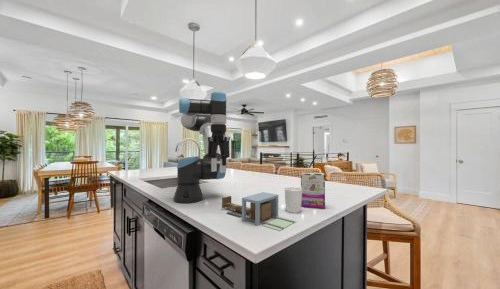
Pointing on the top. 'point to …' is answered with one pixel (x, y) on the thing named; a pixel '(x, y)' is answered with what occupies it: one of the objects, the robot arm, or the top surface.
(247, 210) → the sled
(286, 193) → the white cup
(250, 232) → the top surface
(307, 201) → the candy bar box
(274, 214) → the tunnel
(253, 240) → the top surface
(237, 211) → the dark grey flat plate
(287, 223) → the mat
